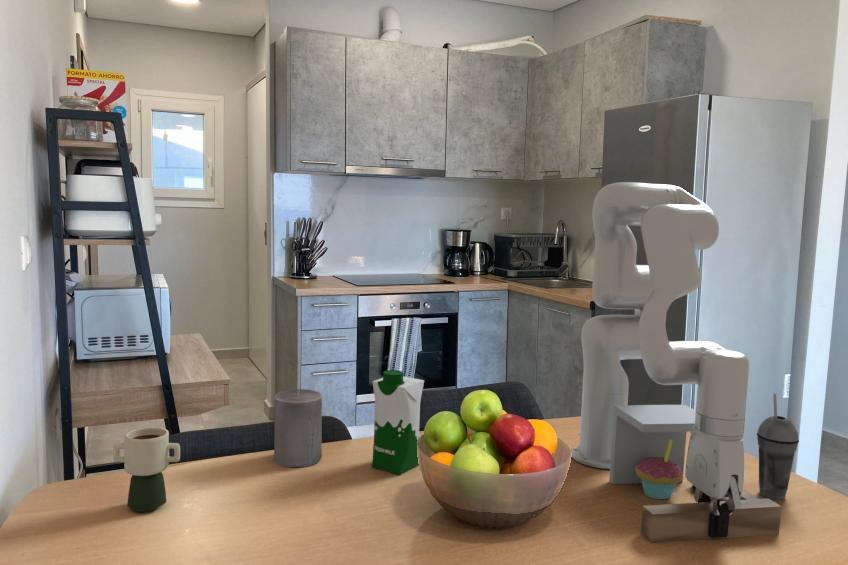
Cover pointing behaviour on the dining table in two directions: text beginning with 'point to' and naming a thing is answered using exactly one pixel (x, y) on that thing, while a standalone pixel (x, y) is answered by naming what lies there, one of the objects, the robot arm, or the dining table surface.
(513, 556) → the dining table surface
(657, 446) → the shelf
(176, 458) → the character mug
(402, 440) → the milk carton
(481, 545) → the dining table surface
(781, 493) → the beverage cup
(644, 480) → the cupcake
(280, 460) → the pillar candle
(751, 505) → the wooden corner bracket
